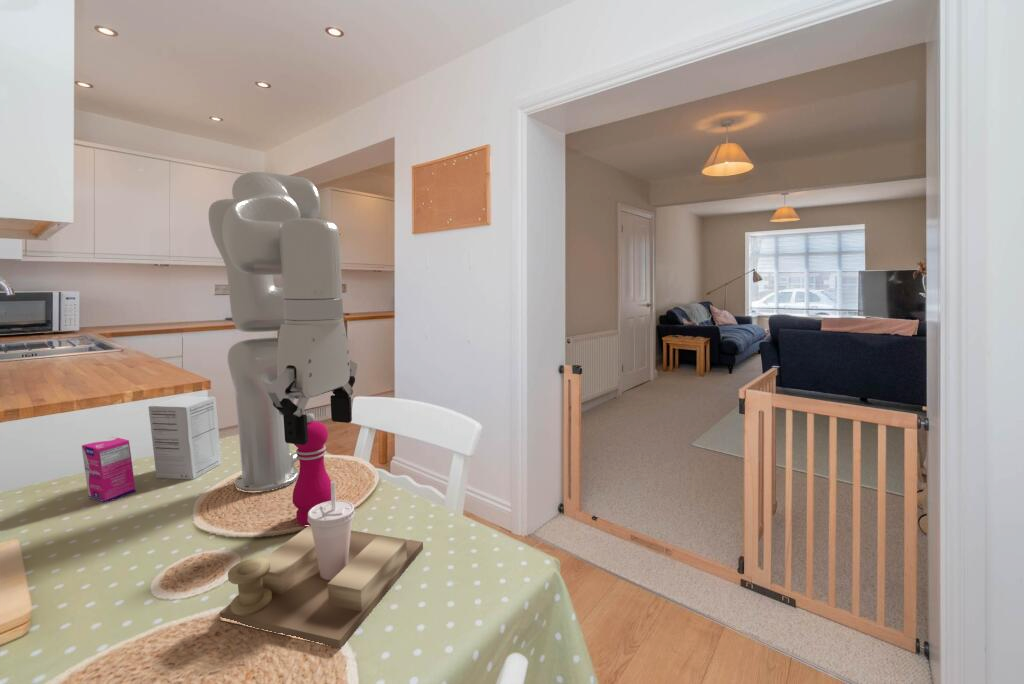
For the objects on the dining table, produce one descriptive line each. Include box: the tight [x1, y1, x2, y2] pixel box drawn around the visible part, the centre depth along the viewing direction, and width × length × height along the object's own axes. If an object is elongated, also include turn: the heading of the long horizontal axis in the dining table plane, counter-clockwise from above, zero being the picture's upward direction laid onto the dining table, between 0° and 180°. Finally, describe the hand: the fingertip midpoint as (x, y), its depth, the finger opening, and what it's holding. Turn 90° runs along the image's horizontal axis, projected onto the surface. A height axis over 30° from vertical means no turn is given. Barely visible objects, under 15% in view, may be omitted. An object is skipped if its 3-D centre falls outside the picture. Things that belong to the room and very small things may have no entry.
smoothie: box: [308, 480, 356, 580], centre depth 68 cm, size 6×6×14 cm
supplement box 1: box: [81, 436, 136, 503], centre depth 96 cm, size 6×6×12 cm
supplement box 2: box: [147, 395, 223, 481], centre depth 108 cm, size 10×9×17 cm
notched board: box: [219, 525, 424, 650], centre depth 68 cm, size 22×18×6 cm
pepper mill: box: [292, 413, 332, 526], centre depth 86 cm, size 7×7×20 cm
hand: (320, 431), depth 67 cm, fingers open, 9 cm apart
